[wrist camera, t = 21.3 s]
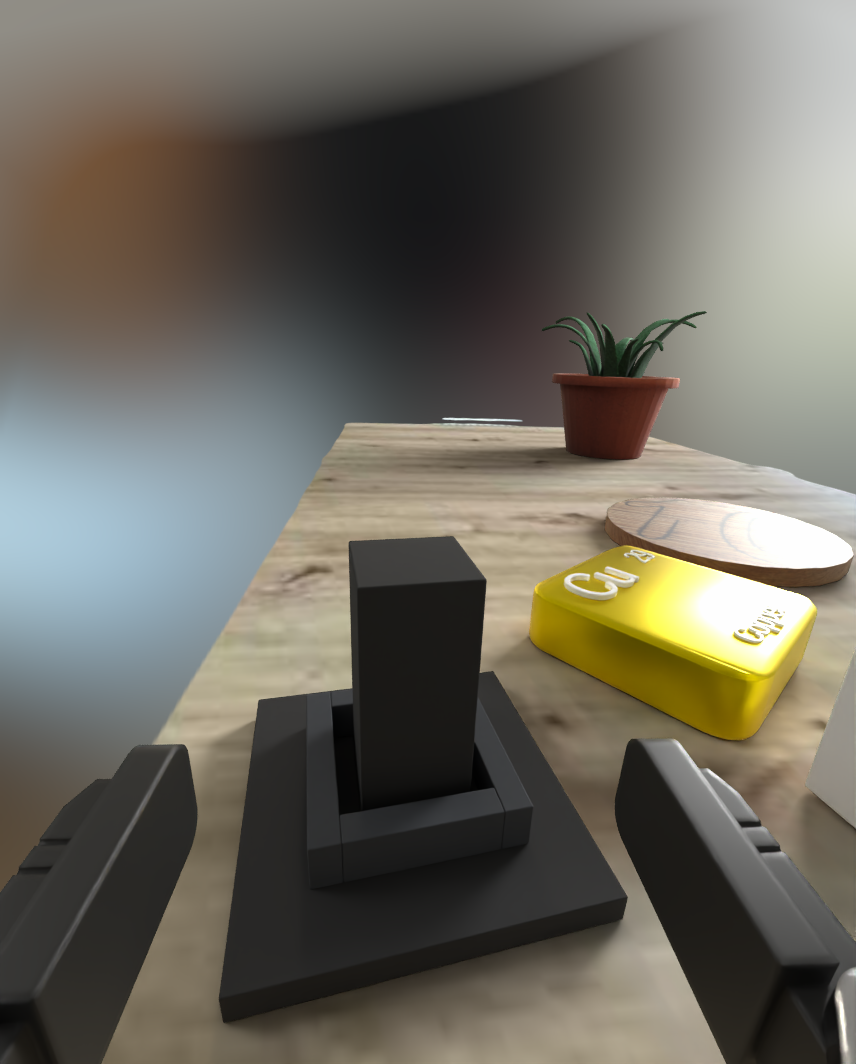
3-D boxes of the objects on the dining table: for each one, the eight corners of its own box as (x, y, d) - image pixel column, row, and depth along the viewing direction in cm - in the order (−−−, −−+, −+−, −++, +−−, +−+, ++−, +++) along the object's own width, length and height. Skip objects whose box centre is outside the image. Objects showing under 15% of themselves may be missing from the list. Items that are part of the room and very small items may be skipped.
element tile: (743, 756, 26) (767, 680, 24) (517, 640, 36) (523, 581, 35) (807, 652, 36) (827, 593, 34) (614, 584, 46) (622, 536, 44)
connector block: (361, 830, 20) (357, 588, 16) (353, 747, 24) (348, 540, 21) (469, 812, 21) (487, 579, 17) (443, 735, 25) (453, 535, 22)
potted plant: (505, 448, 116) (517, 309, 106) (563, 435, 140) (576, 321, 130) (661, 472, 95) (693, 303, 85) (696, 452, 119) (725, 318, 109)
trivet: (586, 553, 53) (589, 536, 53) (619, 500, 74) (621, 488, 74) (880, 610, 43) (887, 591, 42) (821, 530, 64) (826, 516, 63)
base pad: (222, 1024, 15) (210, 956, 14) (260, 716, 28) (255, 669, 27) (623, 919, 18) (637, 857, 17) (491, 686, 31) (495, 643, 30)
